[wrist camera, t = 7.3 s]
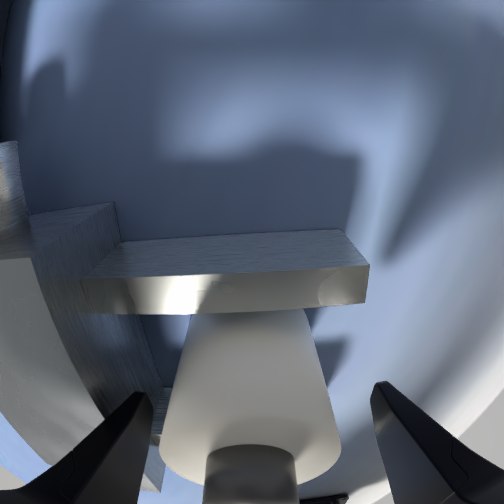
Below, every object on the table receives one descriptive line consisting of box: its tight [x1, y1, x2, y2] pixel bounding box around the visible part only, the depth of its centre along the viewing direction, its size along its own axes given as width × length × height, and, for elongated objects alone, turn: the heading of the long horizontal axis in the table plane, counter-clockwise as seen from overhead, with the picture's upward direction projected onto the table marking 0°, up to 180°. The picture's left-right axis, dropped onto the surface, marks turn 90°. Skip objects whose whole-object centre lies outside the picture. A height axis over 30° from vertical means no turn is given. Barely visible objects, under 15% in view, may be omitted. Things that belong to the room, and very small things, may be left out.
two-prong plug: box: [0, 141, 370, 493], centre depth 9 cm, size 15×15×5 cm
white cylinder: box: [159, 309, 341, 504], centre depth 9 cm, size 5×5×8 cm
